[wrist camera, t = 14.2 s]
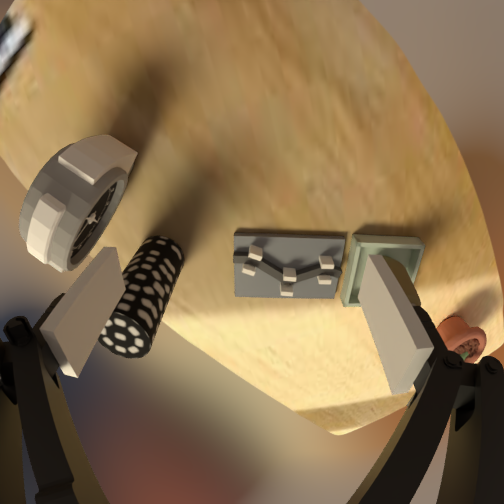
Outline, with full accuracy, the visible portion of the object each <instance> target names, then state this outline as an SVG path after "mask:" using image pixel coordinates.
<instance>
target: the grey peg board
mask: <svg viewBox="0 0 504 504" xmlns="http://www.w3.org/2000/svg"><path fill="white" fill-rule="evenodd" d="M344 245H345V238H344V236H323V235H295V234H263V233H234V255H233V263H234V275H235V297H263V298H324V299H334V297H335V292H336V287H337V282H338V278H339V277H340V275H341V274H342V270H341V268H340V267H341V261H342V256H343V250H344Z"/></svg>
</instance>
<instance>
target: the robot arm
mask: <svg viewBox="0 0 504 504" xmlns="http://www.w3.org/2000/svg"><path fill="white" fill-rule="evenodd" d="M125 290H126V288H125V284H124V280H123V276H122V272H121V267H120V263H119V259H118V254H117V249H116V247H103V249H102V250H101V251H100V252H99V253H98V254H97V256H96V257H95V258H94V259H93V260H92V261H91V263H90V264H89V265H88V266H87V267H86V269H85V270H84V271H83V272H82V273H81V275H80V276H79V277H78V278H77V280H76V281H75V282H74V283H73V285H72V286H71V287H70V288H69V290H68V291H67V292H66V293H62V294H61V295H59V296H58V297H57V298H56V299H54V301H53V302H52V303H51V304H50V306H49V307H48V308H47V310H46V311H45V313H44V314H43V315H42V316H41V318H40V319H39V320H38V322H37V323H36V324H35V326H34V327H33V328H32V327H31V325H30V323H29V321H28V319H27V318H26V317H24V316H17V317H14V318H12V319H10V320H9V321H8V322H7V323H6V325H5V326H4V329H3V331H4V333H5V335H6V337H7V339H8V340H9V342H2V340H1V338H0V504H26V498H25V490H24V478H23V462H22V430H23V434H24V439H25V443H26V446H27V451H28V455H29V458H30V462H31V465H32V469H33V472H34V475H35V478H36V482H37V485H38V488H39V492H38V493H37V494H35V501H36V504H110V503H109V502H108V500H107V498H106V496H105V495H104V493H103V490H102V489H101V487H100V485H99V483H98V480H97V478H96V477H95V474H94V472H93V470H92V468H91V465H90V463H89V461H88V459H87V456H86V454H85V452H84V449H83V447H82V444H81V442H80V439H79V437H78V434H77V431H76V429H75V426H74V423H73V420H72V418H71V415H70V412H69V409H68V406H67V402H66V399H65V396H64V393H63V389H62V386H61V382H60V379H59V376H58V374H57V372H56V371H57V369H58V367H59V366H60V368H61V369H62V371H63V373H64V374H66V375H69V376H74V377H77V378H78V376H79V374H80V372H81V370H82V368H83V366H84V364H85V362H86V360H87V358H88V356H89V354H90V353H91V351H92V349H93V347H94V345H95V343H96V341H97V339H98V338H99V336H100V334H101V332H102V330H103V328H104V327H105V325H106V323H107V321H108V319H109V318H110V316H111V314H112V312H113V311H114V309H115V307H116V305H117V304H118V302H119V300H120V298H121V297H122V295H123V293H124V292H125ZM358 299H359V302H360V304H361V307H362V310H363V312H364V315H365V318H366V320H367V323H368V326H369V328H370V331H371V334H372V337H373V339H374V342H375V345H376V348H377V351H378V353H379V356H380V359H381V362H382V365H383V368H384V371H385V374H386V377H387V380H388V383H389V387H390V390H391V393H392V395H394V394H401V393H408V392H409V390H410V388H411V387H412V385H413V384H414V387H415V389H416V392H415V394H414V395H413V397H412V398H411V400H410V401H409V402H408V404H407V406H408V407H407V409H406V411H405V413H404V415H403V417H402V419H401V420H400V422H399V424H398V426H397V428H396V429H395V432H394V433H393V435H392V436H391V438H390V440H389V442H388V443H387V445H386V447H385V448H384V450H383V452H382V453H381V455H380V456H379V458H378V460H377V461H376V463H375V464H374V466H373V467H372V469H371V470H370V472H369V473H368V475H367V476H366V478H365V479H364V481H363V482H362V483H361V485H360V486H359V488H358V489H357V490H356V492H355V493H354V494H353V496H352V497H351V498H350V500H349V501H348V502H347V504H409V503H410V502H411V500H412V498H413V496H414V494H415V493H416V491H417V489H418V487H419V485H420V483H421V481H422V479H423V477H424V475H425V473H426V471H427V469H428V467H429V464H430V463H431V461H432V459H433V456H434V454H435V452H436V450H437V447H438V445H439V443H440V440H441V438H442V435H443V433H444V430H445V428H446V425H447V422H448V420H449V417H450V414H451V421H450V430H449V439H448V447H447V453H446V459H445V466H444V471H443V476H442V482H441V485H440V490H439V495H438V499H437V503H436V504H504V369H503V366H502V364H501V363H500V361H499V360H497V359H496V358H494V357H492V356H485V357H483V358H482V359H481V360H480V362H479V363H478V364H474V363H467V362H464V360H463V358H462V357H461V356H460V355H459V354H458V353H456V352H454V351H451V350H448V349H447V347H446V345H445V343H444V341H443V339H442V338H441V336H440V334H439V332H438V330H437V329H436V328H435V325H434V323H433V322H432V320H431V318H430V316H429V315H428V313H427V312H426V311H425V310H424V309H423V308H422V307H420V306H412V305H411V303H410V301H409V300H408V298H407V296H406V294H405V293H404V291H403V289H402V288H401V286H400V284H399V282H398V281H397V279H396V277H395V276H394V274H393V273H392V271H391V269H390V268H389V266H388V264H387V263H386V261H385V260H384V258H383V256H382V255H372V254H368V257H367V262H366V266H365V270H364V275H363V279H362V283H361V287H360V291H359V295H358Z"/></svg>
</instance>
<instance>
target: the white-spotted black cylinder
mask: <svg viewBox="0 0 504 504" xmlns="http://www.w3.org/2000/svg"><path fill="white" fill-rule="evenodd" d="M183 264H184V255H183V252H182V250H181V248H180V247H179V246H178V245H177V243H175V242H174V241H173V240H171V239H169V238H167V237H164V236H153V237H150V238H148V239H146V240H145V241H144V242H143V244H142V245H141V246H140V248H139V249H138V251H137V252H136V253H135V255H134V256H133V258H132V259H131V261H130V262H129V264H128V265H127V267H126V268H125V269H124V271H123V272H122V276H123V280H124V284H125V288H126V290H125V292H124V293H123V295H122V297H121V298H120V300H119V302H118V304H117V305H116V307H115V309H114V311H113V312H112V314H111V316H110V318H109V319H108V321H107V323H106V325H105V327H104V328H103V330H102V332H101V334H100V336H99V338H98V339H97V340H98V341H99V342H100V343H101V344H102V345H103V346H104V347H105V348H106V349H108V350H109V351H111V352H112V353H114V354H116V355H119V356H122V357H125V358H141V357H143V356H145V355H146V354H148V352H149V351H150V349H151V346H152V343H153V340H154V338H155V335H156V333H157V330H158V327H159V325H160V322H161V319H162V317H163V314H164V312H165V309H166V307H167V304H168V302H169V299H170V297H171V294H172V292H173V289H174V287H175V284H176V282H177V279H178V277H179V274H180V272H181V270H182V267H183Z"/></svg>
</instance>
